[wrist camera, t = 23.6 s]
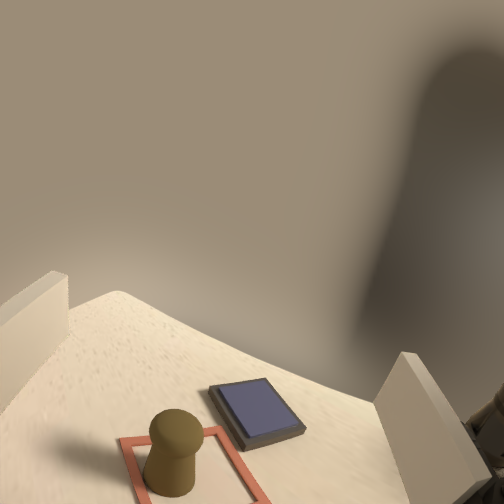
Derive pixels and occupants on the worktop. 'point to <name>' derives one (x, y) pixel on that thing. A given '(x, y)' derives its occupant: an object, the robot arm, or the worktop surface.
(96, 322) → the worktop surface
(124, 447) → the marked square
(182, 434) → the cork
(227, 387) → the ink pad
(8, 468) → the worktop surface
